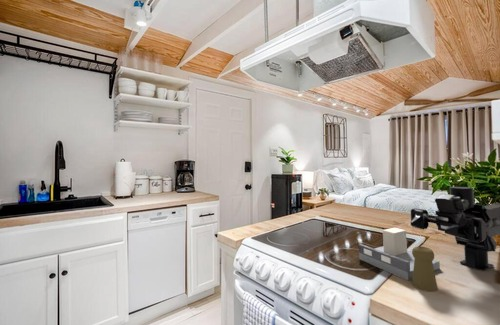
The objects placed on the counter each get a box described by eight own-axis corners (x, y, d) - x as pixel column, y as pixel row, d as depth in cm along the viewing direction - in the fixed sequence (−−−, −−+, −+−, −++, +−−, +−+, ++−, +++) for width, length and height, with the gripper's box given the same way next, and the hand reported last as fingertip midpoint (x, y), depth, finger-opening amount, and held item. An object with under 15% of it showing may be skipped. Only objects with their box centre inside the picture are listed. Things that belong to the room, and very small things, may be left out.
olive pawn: (412, 278, 72) (411, 242, 72) (438, 284, 69) (436, 246, 69) (410, 287, 68) (409, 249, 68) (437, 293, 64) (435, 253, 64)
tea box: (395, 255, 84) (394, 233, 84) (383, 251, 88) (381, 230, 88) (407, 252, 86) (406, 230, 86) (394, 248, 91) (393, 227, 91)
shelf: (388, 251, 94) (388, 237, 94) (439, 268, 78) (438, 252, 78) (359, 259, 88) (358, 244, 88) (407, 280, 71) (406, 262, 71)
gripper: (425, 191, 84) (395, 196, 78) (495, 198, 67) (465, 204, 61) (426, 223, 84) (396, 230, 78) (497, 237, 67) (467, 247, 61)
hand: (427, 227), depth 69 cm, fingers open, 9 cm apart
